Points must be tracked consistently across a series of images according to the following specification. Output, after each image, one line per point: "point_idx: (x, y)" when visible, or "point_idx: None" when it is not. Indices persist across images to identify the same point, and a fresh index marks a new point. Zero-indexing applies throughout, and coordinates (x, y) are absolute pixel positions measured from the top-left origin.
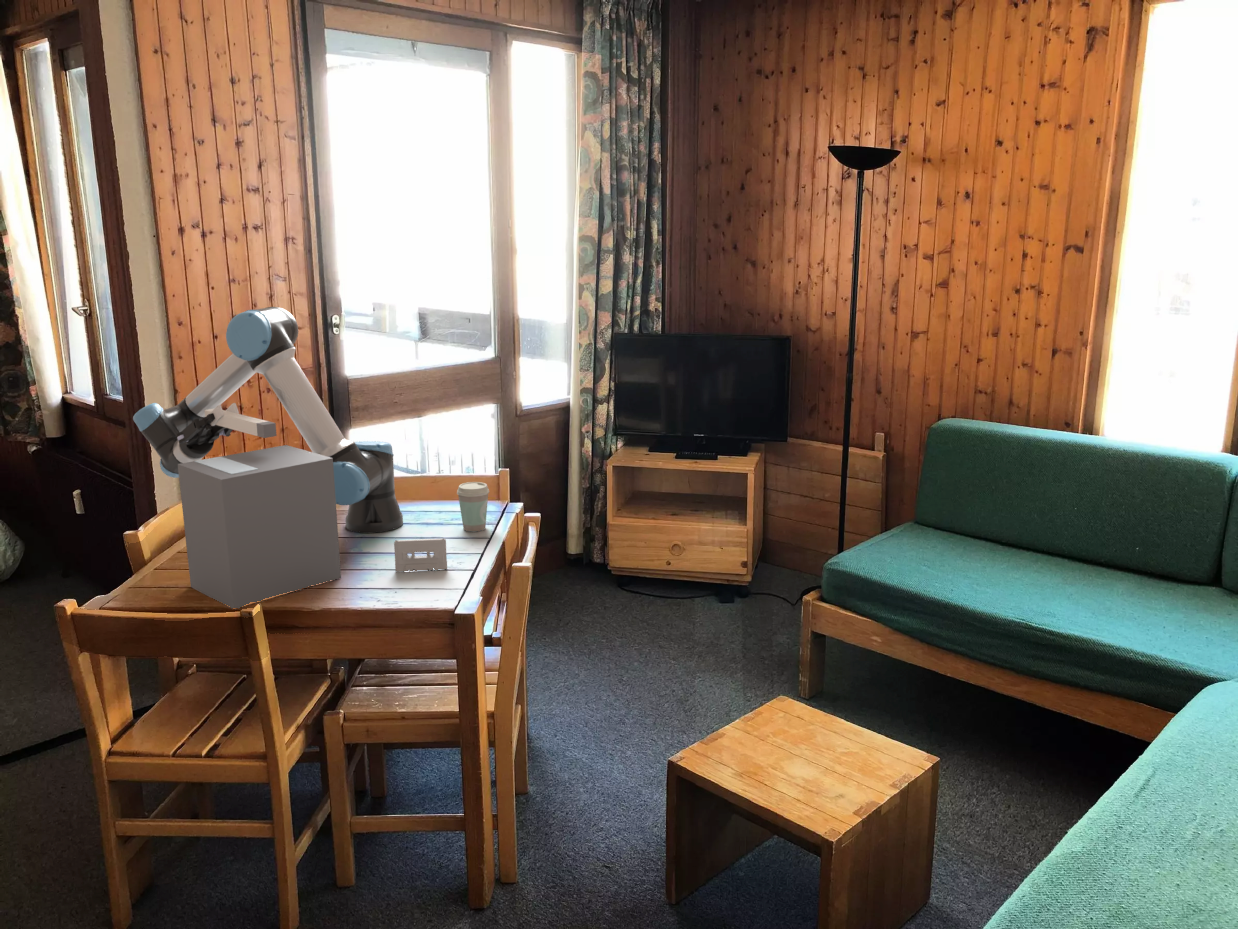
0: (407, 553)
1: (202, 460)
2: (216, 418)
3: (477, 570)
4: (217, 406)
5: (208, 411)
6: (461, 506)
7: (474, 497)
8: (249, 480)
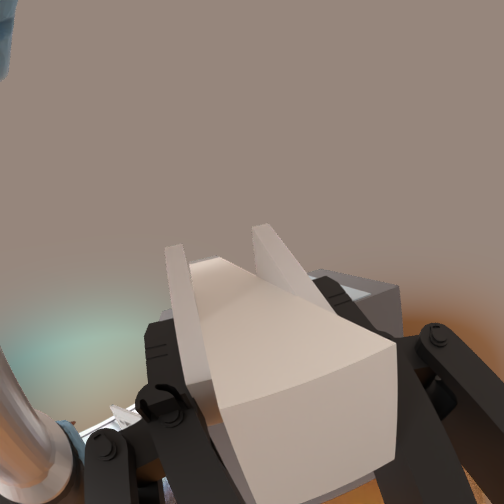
0: None
1: (355, 296)
2: None
3: (111, 420)
4: (271, 230)
5: (339, 319)
6: None
7: None
8: None
